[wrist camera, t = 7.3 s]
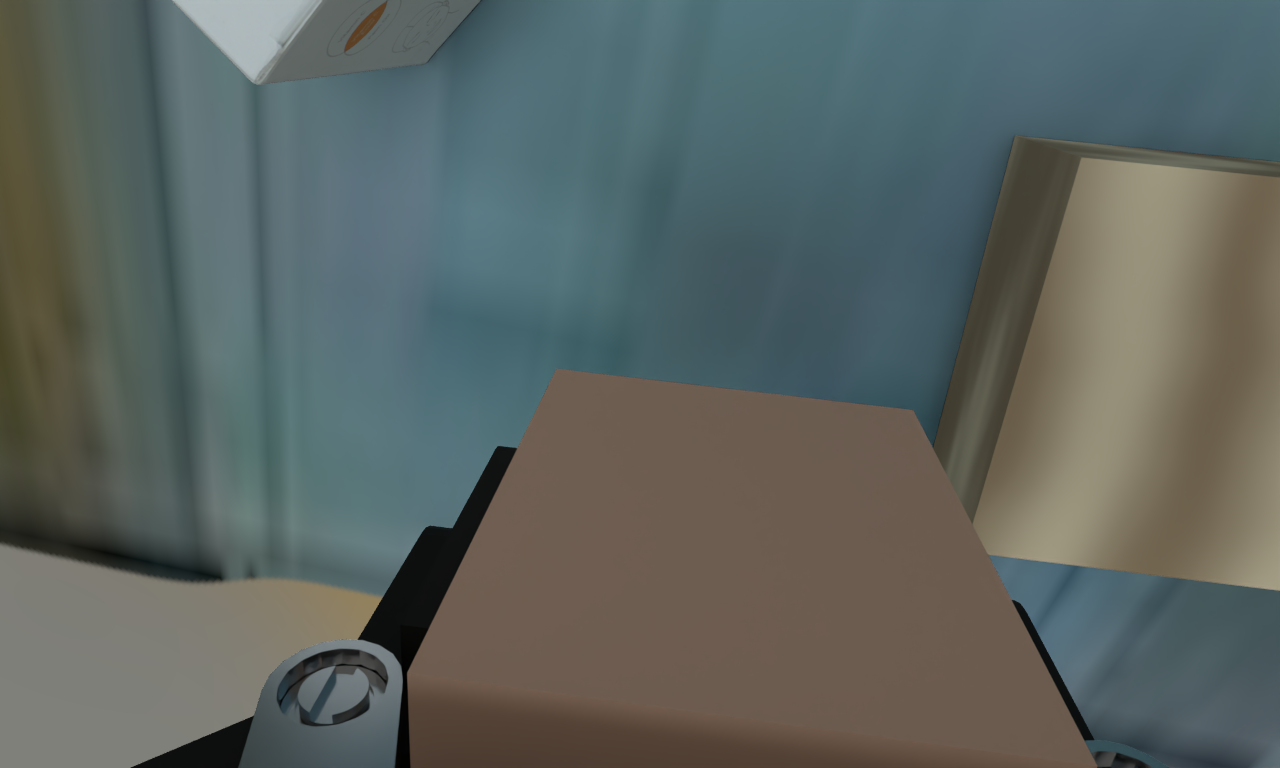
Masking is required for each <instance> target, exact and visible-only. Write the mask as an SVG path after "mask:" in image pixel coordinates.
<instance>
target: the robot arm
mask: <svg viewBox="0 0 1280 768" xmlns="http://www.w3.org/2000/svg"><path fill="white" fill-rule="evenodd" d="M516 450H517V448H511V447H503V446H498V447H497V448H496V449H495V451H494V453H493V455H492V457H491V459H490V460H489V462H488V464H487V466H486V468H485V470H484V471H483V473H482V475H481V477H480V479H479V481H478V482H477V484H476V486H475V488H474V490H473V492H472V493H471V495H470V497H469V499H468V501H467V503H466V505H465V506H464V508H463V510H462V512H461V514H460V516H459V517H458V519H457V521H456V523H455V525H454V527H453V528H444V527H436V526H428V527H426V528H425V530H424V531H423V532H422V533H421V535H420V537H419V538H418V540H417V542H416V543H415V545H414V547H413V548H412V550H411V552H410V553H409V555H408V557H407V558H406V560H405V562H404V563H403V565H402V567H401V568H400V570H399V572H398V573H397V575H396V577H395V578H394V580H393V582H392V583H391V585H390V587H389V588H388V590H387V592H386V593H385V595H384V597H383V598H382V600H381V602H380V603H379V605H378V607H377V608H376V610H375V612H374V614H373V615H372V617H371V619H370V620H369V622H368V624H367V625H366V627H365V628H364V630H363V632H362V633H361V635H360V637H359V638H358V640H347V639H341V640H335V641H329V642H322V643H319V644H317V645H314V646H311V647H308V648H306V649H303V650H301V651H299V652H298V653H296V654H295V655H293V656H291V657H289V658H288V659H286V660H284V661H283V662H282V663H281V664H280V665H279V666H278V667H277V668H276V669H275V670H274V671H273V672H272V673H271V674H270V676H269V677H268V679H267V681H266V683H265V685H264V687H263V689H262V691H261V695H260V698H259V701H258V704H257V708H256V711H255V714H254V716H252V717H250V718H248V719H245V720H243V721H240V722H238V723H236V724H233V725H231V726H229V727H226V728H224V729H221V730H219V731H217V732H215V733H212V734H210V735H207V736H205V737H202V738H200V739H198V740H195V741H193V742H191V743H188V744H186V745H183V746H181V747H179V748H177V749H174V750H172V751H169V752H167V753H164V754H162V755H160V756H157V757H155V758H152V759H150V760H148V761H145V762H143V763H141V764H138V765H136V766H134V767H131V768H411V766H410V738H409V710H408V682H407V672H408V670H409V668H410V666H411V664H412V662H413V660H414V658H415V656H416V654H417V652H418V650H419V648H420V646H421V644H422V642H423V640H424V638H425V636H426V634H427V632H428V629H429V627H430V625H431V623H432V621H433V619H434V617H435V615H436V613H437V611H438V609H439V607H440V605H441V603H442V601H443V599H444V597H445V595H446V593H447V591H448V589H449V587H450V585H451V583H452V581H453V579H454V577H455V575H456V573H457V570H458V568H459V566H460V564H461V562H462V560H463V558H464V556H465V554H466V552H467V550H468V548H469V546H470V544H471V542H472V540H473V538H474V536H475V534H476V532H477V530H478V528H479V526H480V524H481V522H482V520H483V518H484V516H485V513H486V511H487V509H488V507H489V505H490V503H491V501H492V499H493V497H494V495H495V493H496V491H497V489H498V487H499V485H500V483H501V481H502V479H503V477H504V475H505V473H506V471H507V469H508V467H509V465H510V463H511V461H512V459H513V456H514V454H515V452H516ZM1012 602H1013V604H1014V606H1015V608H1016V610H1017V612H1018V614H1019V616H1020V618H1021V619H1022V621H1023V623H1024V625H1025V627H1026V629H1027V631H1028V633H1029V635H1030V637H1031V639H1032V641H1033V643H1034V645H1035V646H1036V648H1037V650H1038V652H1039V654H1040V656H1041V658H1042V660H1043V662H1044V664H1045V666H1046V668H1047V670H1048V672H1049V674H1050V675H1051V677H1052V679H1053V681H1054V683H1055V685H1056V687H1057V689H1058V691H1059V693H1060V695H1061V697H1062V699H1063V701H1064V702H1065V704H1066V706H1067V708H1068V710H1069V712H1070V714H1071V716H1072V718H1073V720H1074V722H1075V724H1076V726H1077V728H1078V730H1079V731H1080V733H1081V735H1082V737H1083V739H1084V741H1085V743H1086V745H1087V747H1088V749H1089V751H1090V753H1091V755H1092V757H1093V759H1094V760H1095V762H1096V764H1097V768H1169V767H1168V766H1166V765H1164V764H1163V763H1161V762H1159V761H1158V760H1156V759H1154V758H1153V757H1151V756H1150V755H1148V754H1145V753H1143V752H1141V751H1138V750H1136V749H1133V748H1131V747H1129V746H1126V745H1123V744H1118V743H1114V742H1109V741H1104V740H1094V738H1093V736H1092V734H1091V733H1090V731H1089V729H1088V727H1087V725H1086V723H1085V721H1084V719H1083V718H1082V716H1081V714H1080V712H1079V710H1078V708H1077V706H1076V704H1075V703H1074V701H1073V699H1072V697H1071V695H1070V693H1069V691H1068V689H1067V687H1066V686H1065V684H1064V682H1063V680H1062V678H1061V676H1060V674H1059V672H1058V671H1057V669H1056V667H1055V665H1054V663H1053V661H1052V659H1051V657H1050V656H1049V654H1048V652H1047V650H1046V648H1045V646H1044V644H1043V642H1042V640H1041V639H1040V637H1039V635H1038V633H1037V631H1036V629H1035V627H1034V625H1033V624H1032V622H1031V620H1030V618H1029V616H1028V614H1027V612H1026V611H1025V609H1024V608H1023V607H1022V605H1021V604H1020V603H1019V602H1016V601H1014V600H1012Z"/></svg>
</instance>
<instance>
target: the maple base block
mask: <svg viewBox="0 0 1280 768" xmlns="http://www.w3.org/2000/svg"><path fill="white" fill-rule="evenodd" d="M933 449H934V451H935V453H936V455H937V457H938V459H939V461H940V463H941V465H942V467H943V469H944V471H945V473H946V475H947V477H948V478H949V480H950V482H951V484H952V486H953V488H954V490H955V492H956V494H957V496H958V498H959V500H960V502H961V504H962V505H963V507H964V509H965V511H966V513H967V515H968V517H969V519H970V521H971V523H972V525H973V527H974V529H975V531H976V533H977V534H978V536H979V538H980V540H981V542H982V544H983V546H984V548H985V550H986V552H987V554H988V555H994V556H1002V557H1010V558H1018V559H1026V560H1035V561H1043V562H1051V563H1059V564H1067V565H1075V566H1083V567H1092V568H1100V569H1108V570H1116V571H1124V572H1132V573H1140V574H1149V575H1157V576H1165V577H1173V578H1181V579H1189V580H1197V581H1205V582H1214V583H1222V584H1230V585H1238V586H1246V587H1254V588H1262V589H1271V590H1279V591H1280V162H1274V161H1264V160H1254V159H1244V158H1234V157H1224V156H1214V155H1204V154H1194V153H1184V152H1174V151H1164V150H1154V149H1144V148H1134V147H1124V146H1114V145H1104V144H1094V143H1084V142H1074V141H1064V140H1054V139H1044V138H1034V137H1024V136H1015V137H1014V141H1013V145H1012V149H1011V153H1010V157H1009V160H1008V164H1007V168H1006V172H1005V176H1004V179H1003V183H1002V187H1001V191H1000V195H999V198H998V202H997V206H996V210H995V214H994V217H993V221H992V225H991V229H990V233H989V237H988V240H987V244H986V248H985V252H984V256H983V259H982V263H981V267H980V271H979V275H978V278H977V282H976V286H975V290H974V294H973V297H972V301H971V305H970V309H969V313H968V317H967V320H966V324H965V328H964V332H963V336H962V339H961V343H960V347H959V351H958V355H957V358H956V362H955V366H954V370H953V374H952V378H951V381H950V385H949V389H948V393H947V397H946V400H945V404H944V408H943V412H942V416H941V419H940V423H939V427H938V431H937V435H936V438H935V442H934V446H933Z"/></svg>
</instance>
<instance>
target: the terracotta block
mask: <svg viewBox="0 0 1280 768" xmlns="http://www.w3.org/2000/svg"><path fill="white" fill-rule="evenodd" d="M407 682H408V710H409V738H410V766H411V768H1097V764H1096V762H1095V760H1094V759H1093V757H1092V755H1091V753H1090V751H1089V749H1088V747H1087V745H1086V743H1085V741H1084V739H1083V737H1082V735H1081V733H1080V731H1079V730H1078V728H1077V726H1076V724H1075V722H1074V720H1073V718H1072V716H1071V714H1070V712H1069V710H1068V708H1067V706H1066V704H1065V702H1064V701H1063V699H1062V697H1061V695H1060V693H1059V691H1058V689H1057V687H1056V685H1055V683H1054V681H1053V679H1052V677H1051V675H1050V674H1049V672H1048V670H1047V668H1046V666H1045V664H1044V662H1043V660H1042V658H1041V656H1040V654H1039V652H1038V650H1037V648H1036V646H1035V645H1034V643H1033V641H1032V639H1031V637H1030V635H1029V633H1028V631H1027V629H1026V627H1025V625H1024V623H1023V621H1022V619H1021V618H1020V616H1019V614H1018V612H1017V610H1016V608H1015V606H1014V604H1013V602H1012V600H1011V598H1010V596H1009V594H1008V592H1007V590H1006V589H1005V587H1004V585H1003V583H1002V581H1001V579H1000V577H999V575H998V573H997V571H996V569H995V567H994V565H993V563H992V561H991V560H990V558H989V556H988V554H987V552H986V550H985V548H984V546H983V544H982V542H981V540H980V538H979V536H978V534H977V533H976V531H975V529H974V527H973V525H972V523H971V521H970V519H969V517H968V515H967V513H966V511H965V509H964V507H963V505H962V504H961V502H960V500H959V498H958V496H957V494H956V492H955V490H954V488H953V486H952V484H951V482H950V480H949V478H948V477H947V475H946V473H945V471H944V469H943V467H942V465H941V463H940V461H939V459H938V457H937V455H936V453H935V451H934V449H933V448H932V446H931V444H930V442H929V440H928V438H927V436H926V434H925V432H924V430H923V428H922V426H921V424H920V422H919V420H918V419H917V417H916V415H915V413H914V411H913V410H908V409H900V408H891V407H882V406H874V405H865V404H856V403H848V402H839V401H830V400H822V399H813V398H804V397H796V396H787V395H779V394H770V393H761V392H753V391H744V390H735V389H727V388H718V387H709V386H701V385H692V384H683V383H675V382H666V381H657V380H649V379H640V378H631V377H623V376H614V375H605V374H597V373H588V372H580V371H571V370H562V369H556V371H555V373H554V375H553V377H552V379H551V381H550V383H549V385H548V387H547V389H546V391H545V393H544V395H543V397H542V400H541V402H540V404H539V406H538V408H537V410H536V412H535V414H534V416H533V418H532V420H531V422H530V424H529V426H528V428H527V430H526V432H525V434H524V436H523V438H522V440H521V442H520V444H519V446H518V448H517V450H516V452H515V454H514V456H513V459H512V461H511V463H510V465H509V467H508V469H507V471H506V473H505V475H504V477H503V479H502V481H501V483H500V485H499V487H498V489H497V491H496V493H495V495H494V497H493V499H492V501H491V503H490V505H489V507H488V509H487V511H486V513H485V516H484V518H483V520H482V522H481V524H480V526H479V528H478V530H477V532H476V534H475V536H474V538H473V540H472V542H471V544H470V546H469V548H468V550H467V552H466V554H465V556H464V558H463V560H462V562H461V564H460V566H459V568H458V570H457V573H456V575H455V577H454V579H453V581H452V583H451V585H450V587H449V589H448V591H447V593H446V595H445V597H444V599H443V601H442V603H441V605H440V607H439V609H438V611H437V613H436V615H435V617H434V619H433V621H432V623H431V625H430V627H429V629H428V632H427V634H426V636H425V638H424V640H423V642H422V644H421V646H420V648H419V650H418V652H417V654H416V656H415V658H414V660H413V662H412V664H411V666H410V668H409V670H408V672H407Z"/></svg>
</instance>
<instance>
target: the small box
mask: <svg viewBox="0 0 1280 768" xmlns="http://www.w3.org/2000/svg"><path fill="white" fill-rule="evenodd" d="M172 1H173V2H174V3H175V4H176V5H177V6H178V7H179V8H180V9H181V10H182V11H183V13H184V14H185V15H186V16H187V17H188V18H189V19H190V20H191V21H192V22H193V23H194V24H195V25H196V26H197V27H198V28H199V29H200V30H201V31H202V32H203V33H204V34H205V35H206V36H207V37H208V38H209V39H210V40H211V41H212V42H213V43H214V44H215V45H216V46H217V47H218V48H219V49H220V50H221V51H222V52H223V53H224V54H225V55H226V56H227V57H228V58H229V59H230V60H231V61H232V62H233V63H234V64H235V65H236V66H237V67H238V68H239V69H240V70H241V71H242V73H243V74H244V75H245V76H246V77H247V78H248V79H249V80H250V81H252V82H253V83H255V84H258V85H262V84H270V83H278V82H285V81H295V80H304V79H311V78H319V77H327V76H336V75H342V74H351V73H358V72H366V71H374V70H380V69H389V68H397V67H404V66H412V65H421V64H425V63H427V61H428V60H429V59H430V58H431V56H432V55H433V54H434V53H435V52H436V51H437V49H438V48H439V47H440V46H441V45H442V44H443V43H444V41H445V40H446V39H447V38H448V37H449V36H450V35H451V33H452V32H453V31H454V30H455V29H456V28H457V27H458V26H459V24H460V23H461V22H462V21H463V20H464V19H465V18H466V16H467V15H468V14H469V13H470V12H471V11H472V10H473V9H474V7H475V6H476V5H477V4H478V3H479V2H480V1H481V0H172Z"/></svg>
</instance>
